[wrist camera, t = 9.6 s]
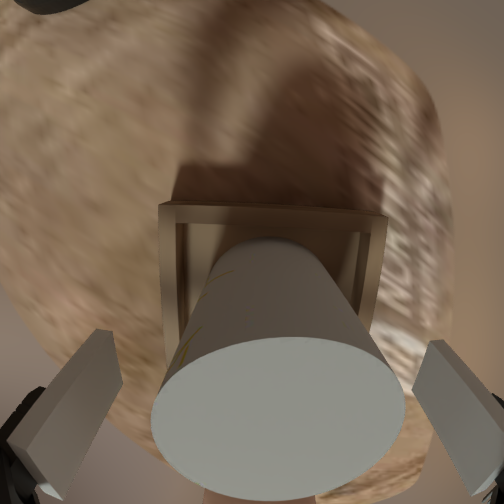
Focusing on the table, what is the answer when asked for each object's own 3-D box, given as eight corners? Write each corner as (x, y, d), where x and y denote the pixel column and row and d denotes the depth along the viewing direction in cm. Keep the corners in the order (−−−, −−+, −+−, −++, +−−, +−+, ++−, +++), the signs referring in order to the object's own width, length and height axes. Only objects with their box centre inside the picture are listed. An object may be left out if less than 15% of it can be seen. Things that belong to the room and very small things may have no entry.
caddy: (170, 200, 19) (158, 204, 17) (373, 211, 19) (388, 217, 16) (187, 450, 25) (183, 469, 22) (322, 454, 25) (325, 473, 22)
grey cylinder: (200, 238, 19) (122, 335, 7) (332, 234, 19) (431, 323, 7) (211, 352, 21) (178, 497, 9) (326, 348, 21) (375, 487, 9)
